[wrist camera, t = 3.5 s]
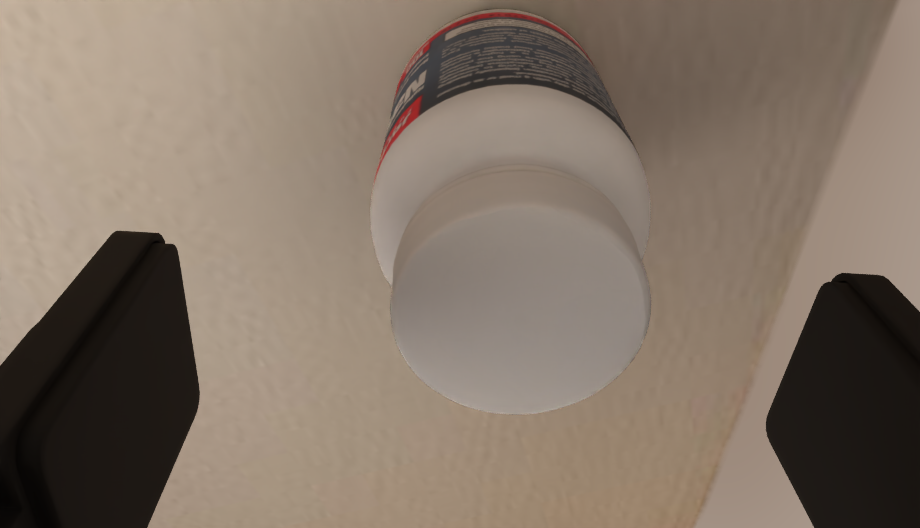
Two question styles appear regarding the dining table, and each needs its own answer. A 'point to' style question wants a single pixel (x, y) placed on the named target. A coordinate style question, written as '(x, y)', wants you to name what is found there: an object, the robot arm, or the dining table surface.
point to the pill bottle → (511, 218)
